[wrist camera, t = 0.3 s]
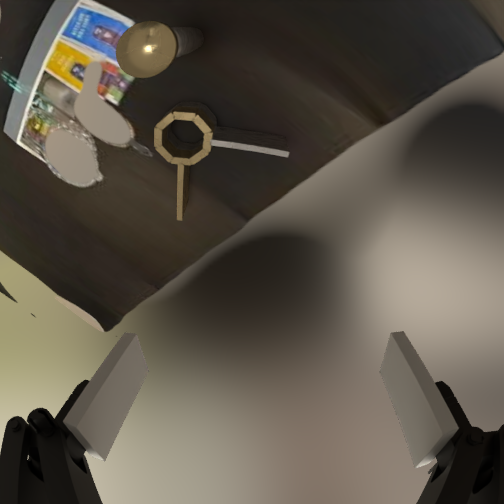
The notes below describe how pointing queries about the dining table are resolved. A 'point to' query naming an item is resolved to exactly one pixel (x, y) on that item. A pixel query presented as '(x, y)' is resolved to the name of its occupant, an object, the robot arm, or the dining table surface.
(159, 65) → the hinge pin
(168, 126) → the ring holder
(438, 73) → the dining table surface
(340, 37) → the dining table surface
